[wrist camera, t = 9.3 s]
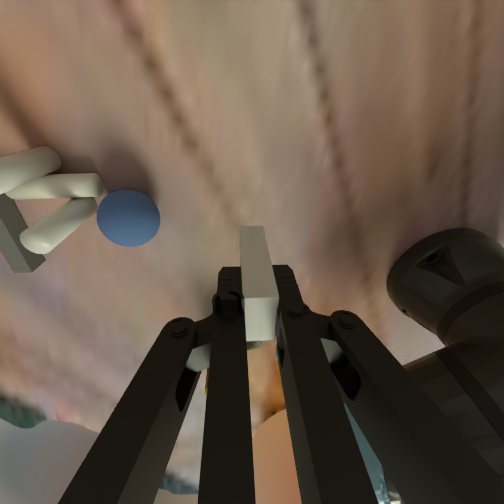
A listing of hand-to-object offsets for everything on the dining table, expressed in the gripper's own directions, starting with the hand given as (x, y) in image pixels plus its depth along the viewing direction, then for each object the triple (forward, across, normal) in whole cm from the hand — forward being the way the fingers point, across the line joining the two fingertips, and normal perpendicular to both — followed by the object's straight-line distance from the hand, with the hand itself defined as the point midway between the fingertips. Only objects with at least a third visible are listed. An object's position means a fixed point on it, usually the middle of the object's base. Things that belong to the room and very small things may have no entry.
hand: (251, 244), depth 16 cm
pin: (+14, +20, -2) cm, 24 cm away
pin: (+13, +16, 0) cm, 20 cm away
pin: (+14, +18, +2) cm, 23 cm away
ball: (+11, +12, +3) cm, 17 cm away
